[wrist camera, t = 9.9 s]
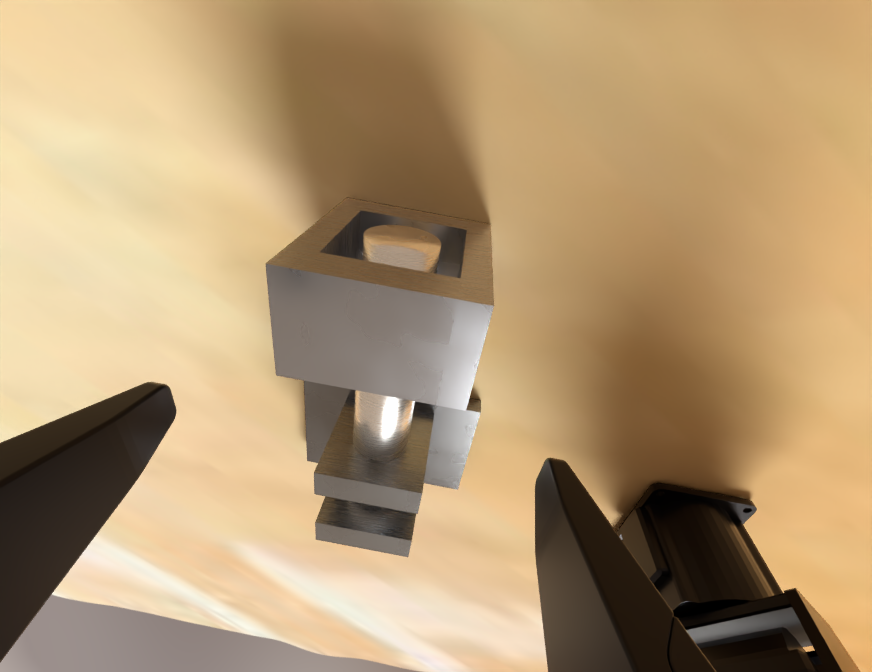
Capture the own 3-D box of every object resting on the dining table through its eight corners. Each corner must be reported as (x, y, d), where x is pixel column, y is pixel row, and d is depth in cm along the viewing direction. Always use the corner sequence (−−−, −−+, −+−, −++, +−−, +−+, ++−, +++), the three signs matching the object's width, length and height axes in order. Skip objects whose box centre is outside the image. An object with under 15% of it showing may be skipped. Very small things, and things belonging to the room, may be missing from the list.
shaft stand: (529, 232, 17) (549, 296, 12) (458, 476, 26) (451, 572, 21) (305, 190, 17) (227, 236, 12) (312, 448, 26) (270, 537, 21)
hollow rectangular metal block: (490, 223, 17) (493, 306, 11) (472, 303, 19) (465, 410, 13) (347, 197, 17) (265, 263, 11) (344, 279, 19) (276, 375, 13)
